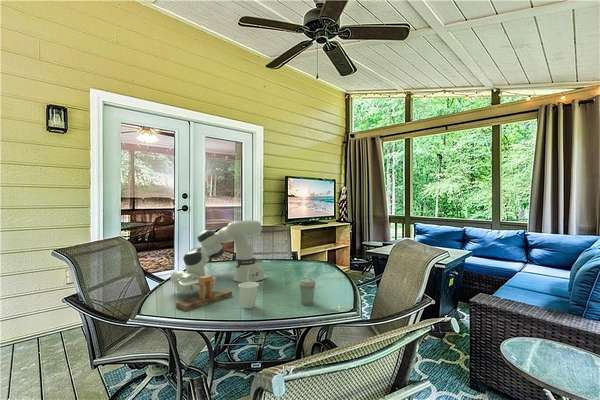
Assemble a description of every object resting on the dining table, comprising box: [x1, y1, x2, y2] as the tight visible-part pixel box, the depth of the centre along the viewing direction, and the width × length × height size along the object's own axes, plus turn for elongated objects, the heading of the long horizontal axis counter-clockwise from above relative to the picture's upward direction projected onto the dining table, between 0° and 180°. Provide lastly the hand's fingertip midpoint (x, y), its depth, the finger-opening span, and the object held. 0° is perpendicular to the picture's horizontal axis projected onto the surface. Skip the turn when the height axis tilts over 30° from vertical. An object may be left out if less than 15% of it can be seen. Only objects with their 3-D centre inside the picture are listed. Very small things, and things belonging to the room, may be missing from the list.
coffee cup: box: [298, 277, 316, 306], centre depth 152 cm, size 8×8×12 cm
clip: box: [198, 274, 214, 300], centre depth 154 cm, size 6×4×12 cm, turn 143°
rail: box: [175, 288, 233, 312], centre depth 154 cm, size 28×8×2 cm, turn 143°
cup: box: [238, 281, 259, 310], centre depth 147 cm, size 10×10×11 cm
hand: (206, 286), depth 153 cm, fingers open, 6 cm apart
